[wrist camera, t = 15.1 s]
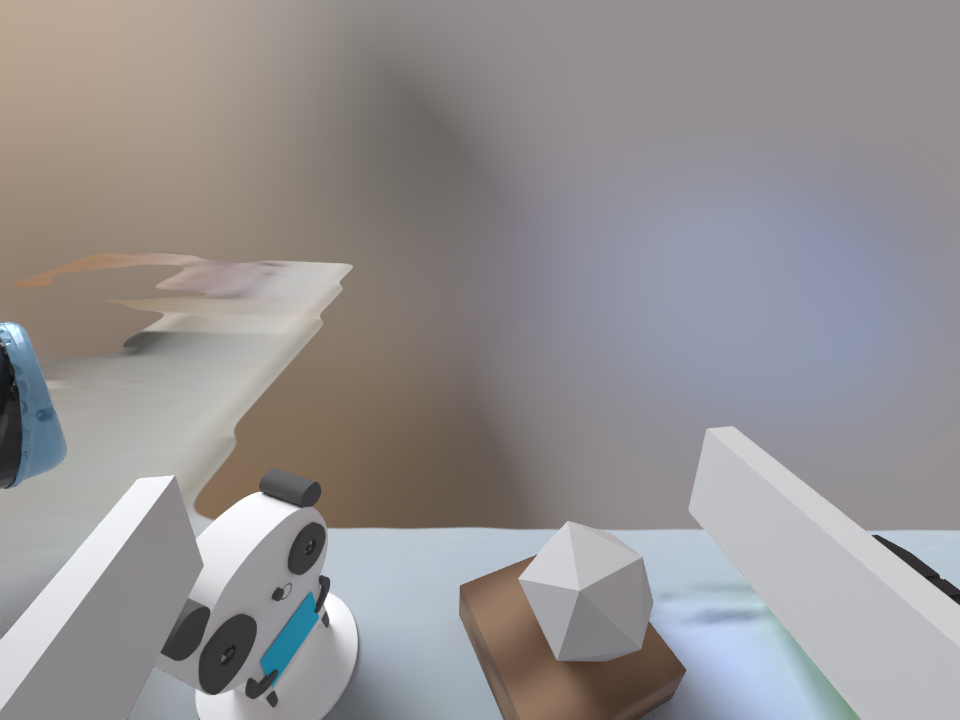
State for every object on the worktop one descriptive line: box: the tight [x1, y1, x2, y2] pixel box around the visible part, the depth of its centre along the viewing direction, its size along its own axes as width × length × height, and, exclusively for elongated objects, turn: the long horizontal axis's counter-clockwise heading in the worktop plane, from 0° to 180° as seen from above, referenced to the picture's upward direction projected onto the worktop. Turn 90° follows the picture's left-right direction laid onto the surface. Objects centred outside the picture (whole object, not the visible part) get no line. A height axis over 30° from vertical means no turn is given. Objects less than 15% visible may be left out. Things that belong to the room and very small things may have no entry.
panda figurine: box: [154, 468, 358, 720], centre depth 31 cm, size 12×11×15 cm
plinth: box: [459, 555, 686, 720], centre depth 35 cm, size 12×12×4 cm
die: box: [518, 521, 653, 662], centre depth 32 cm, size 8×9×10 cm
